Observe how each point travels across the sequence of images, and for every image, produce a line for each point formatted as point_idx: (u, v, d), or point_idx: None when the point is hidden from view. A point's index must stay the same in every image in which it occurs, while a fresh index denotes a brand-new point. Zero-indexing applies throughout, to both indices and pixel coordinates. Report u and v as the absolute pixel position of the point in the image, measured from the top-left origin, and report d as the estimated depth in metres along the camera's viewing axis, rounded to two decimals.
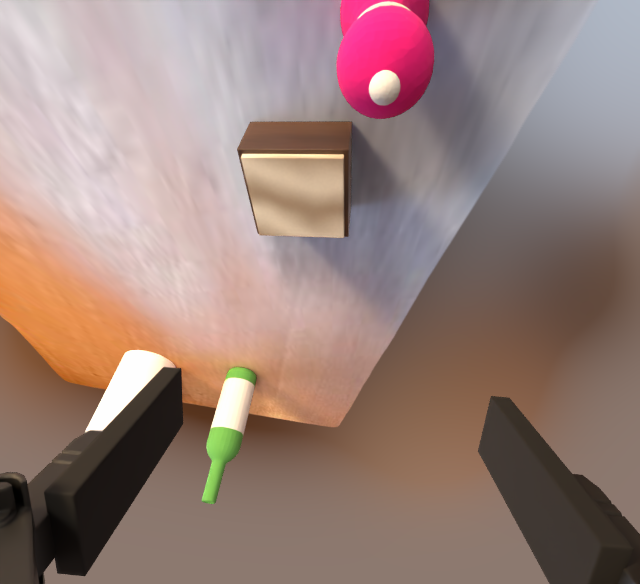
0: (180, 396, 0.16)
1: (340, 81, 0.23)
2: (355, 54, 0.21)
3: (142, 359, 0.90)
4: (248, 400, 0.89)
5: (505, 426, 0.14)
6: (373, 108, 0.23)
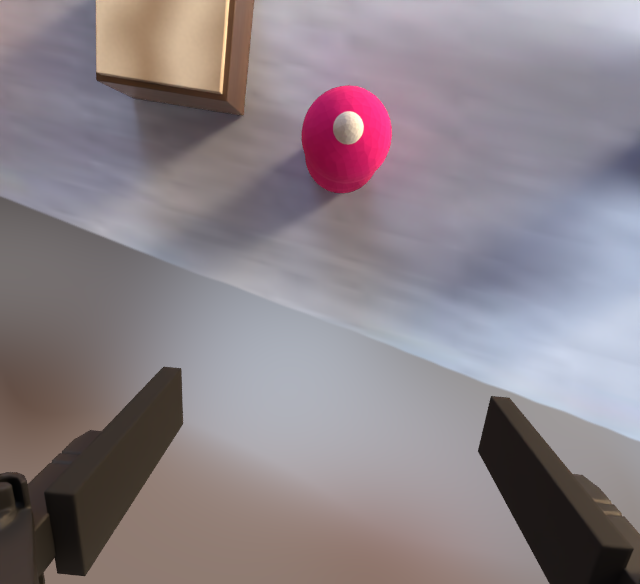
0: (180, 396, 0.16)
1: (348, 86, 0.23)
2: (373, 104, 0.22)
3: None
4: None
5: (505, 426, 0.14)
6: (322, 117, 0.22)
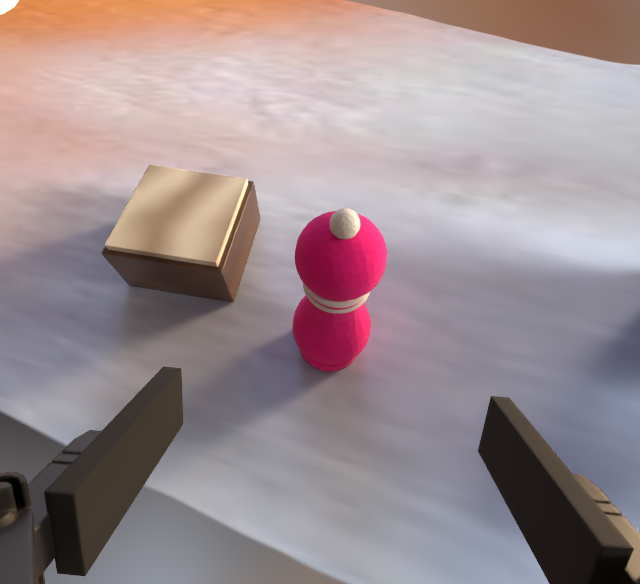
0: (181, 395, 0.16)
1: None
2: (366, 219, 0.23)
3: None
4: None
5: (505, 426, 0.14)
6: (318, 224, 0.22)
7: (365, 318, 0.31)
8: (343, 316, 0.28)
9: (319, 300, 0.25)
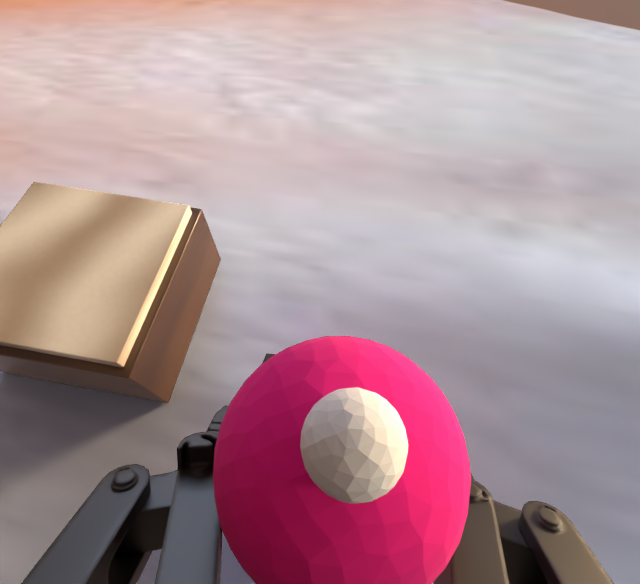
0: None
1: (343, 337, 0.09)
2: (414, 377, 0.08)
3: None
4: None
5: None
6: (271, 405, 0.07)
7: None
8: None
9: None
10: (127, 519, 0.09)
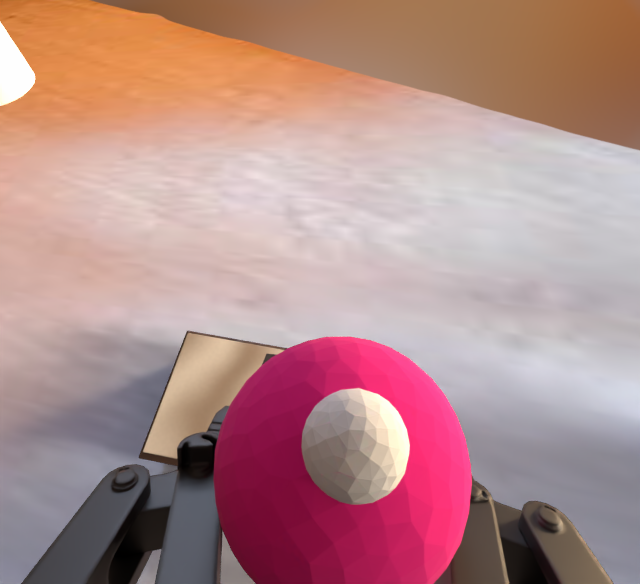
0: None
1: (343, 337, 0.09)
2: (415, 377, 0.08)
3: (13, 81, 0.62)
4: None
5: None
6: (272, 406, 0.07)
7: None
8: None
9: None
10: (127, 519, 0.09)
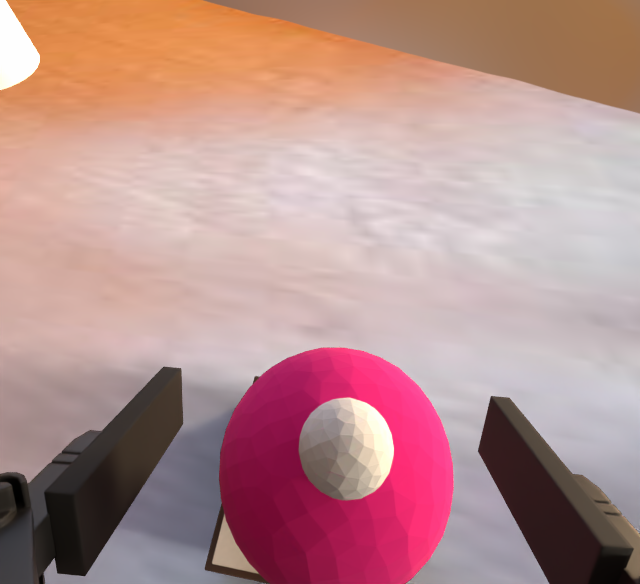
0: (180, 396, 0.16)
1: (338, 348, 0.10)
2: (403, 386, 0.09)
3: (14, 61, 0.52)
4: None
5: (505, 426, 0.14)
6: (273, 412, 0.08)
7: None
8: None
9: None
10: None
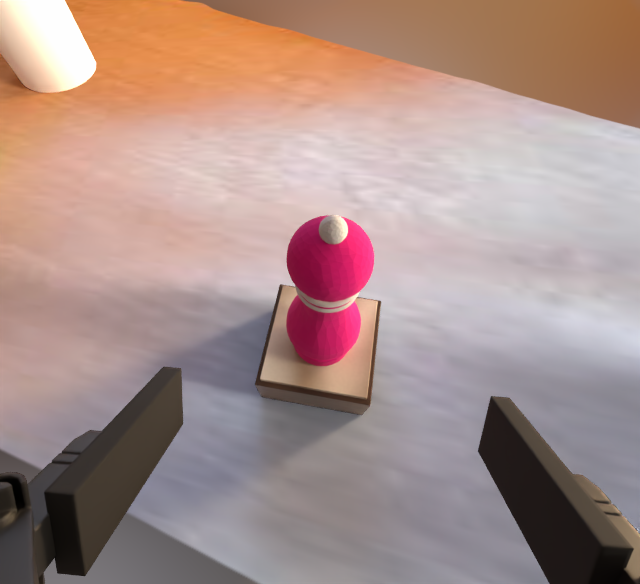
0: (181, 395, 0.16)
1: None
2: (355, 224, 0.24)
3: (80, 67, 0.66)
4: None
5: (505, 426, 0.14)
6: (308, 229, 0.23)
7: (355, 316, 0.33)
8: (334, 315, 0.29)
9: (310, 300, 0.26)
10: None
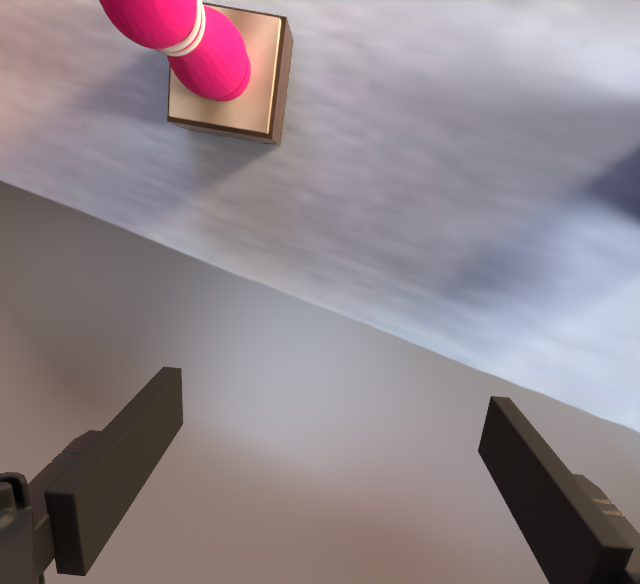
0: (181, 396, 0.16)
1: None
2: None
3: None
4: None
5: (505, 426, 0.14)
6: None
7: (228, 50, 0.32)
8: (192, 55, 0.29)
9: None
10: None
